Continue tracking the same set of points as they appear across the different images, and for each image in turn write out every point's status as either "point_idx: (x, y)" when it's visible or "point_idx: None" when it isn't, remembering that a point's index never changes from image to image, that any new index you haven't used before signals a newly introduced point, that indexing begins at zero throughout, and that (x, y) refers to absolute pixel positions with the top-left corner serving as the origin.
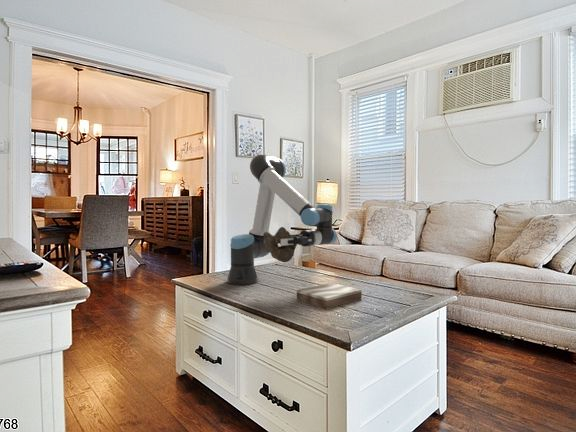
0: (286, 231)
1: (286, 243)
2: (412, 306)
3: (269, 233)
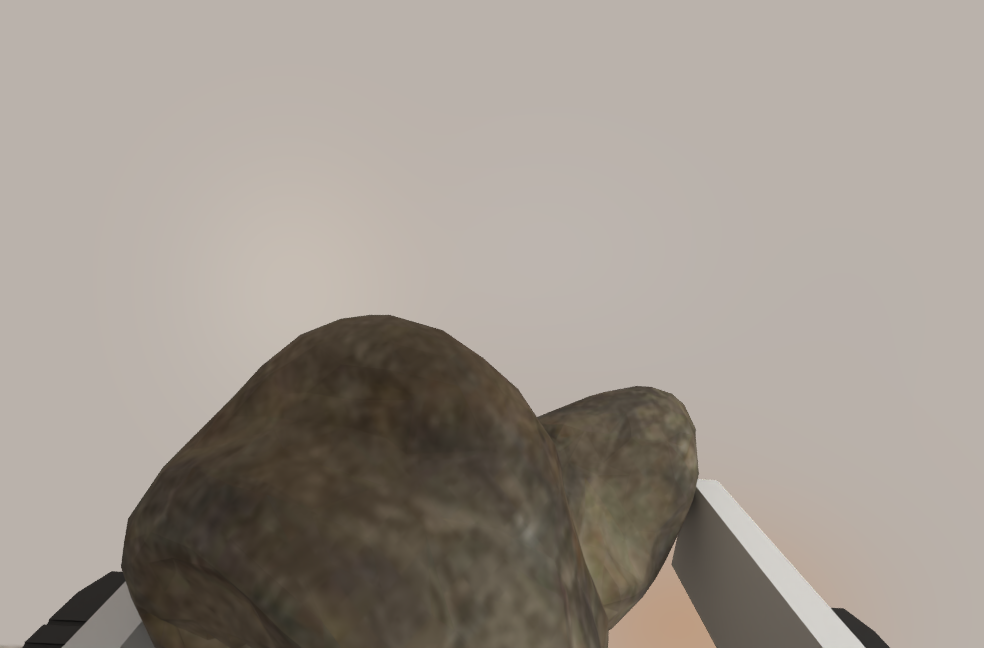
0: (220, 411)
1: None
2: None
3: (594, 415)
